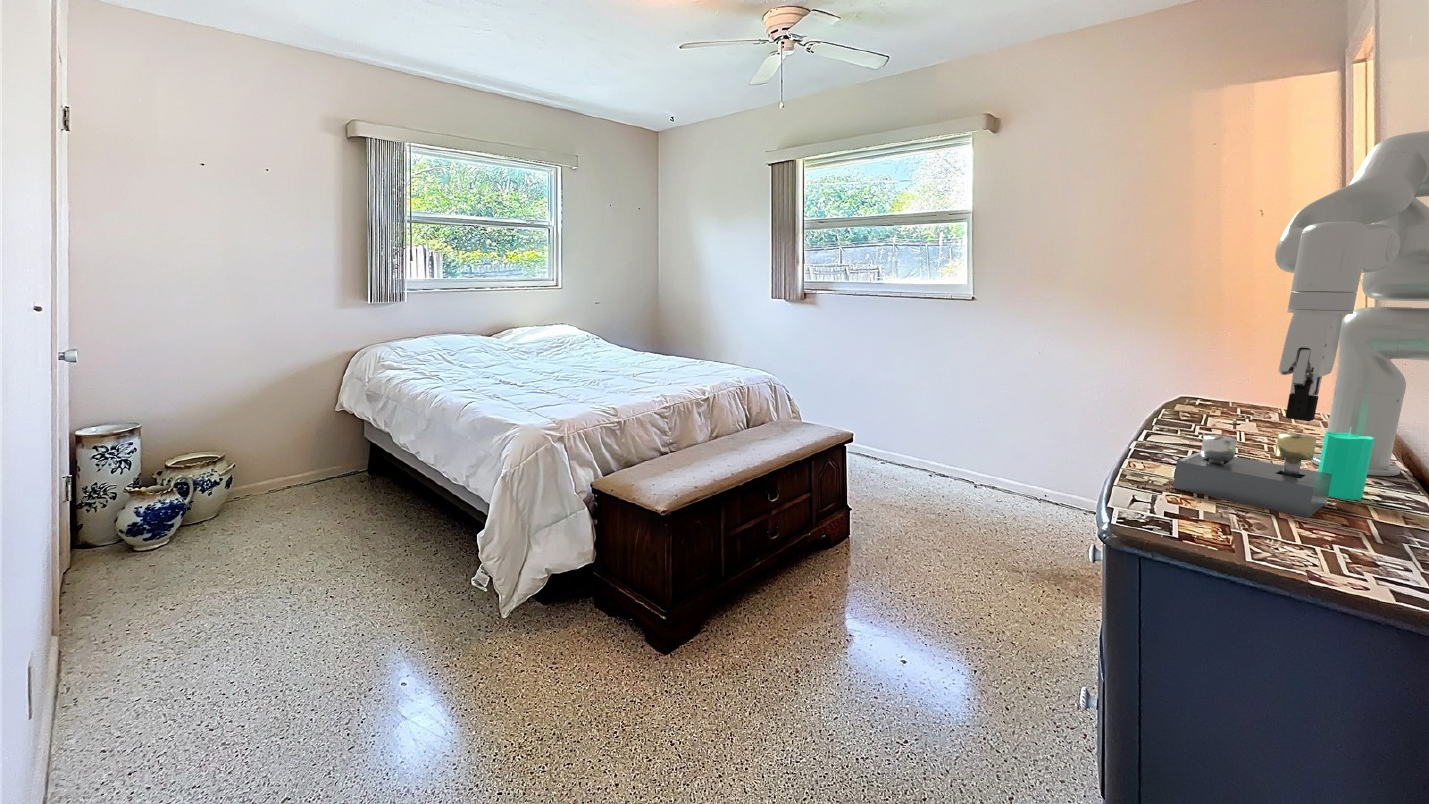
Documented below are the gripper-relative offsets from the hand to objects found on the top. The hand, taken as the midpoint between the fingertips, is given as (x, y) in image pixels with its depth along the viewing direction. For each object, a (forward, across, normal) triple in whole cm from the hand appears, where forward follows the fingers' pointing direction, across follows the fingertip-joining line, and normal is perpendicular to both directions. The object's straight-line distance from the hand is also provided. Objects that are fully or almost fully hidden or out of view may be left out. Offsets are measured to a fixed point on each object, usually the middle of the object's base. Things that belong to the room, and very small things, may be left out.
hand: (1299, 419), depth 102 cm
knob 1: (+13, -1, -10) cm, 17 cm away
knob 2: (+11, -1, 0) cm, 11 cm away
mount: (+14, -1, -5) cm, 15 cm away
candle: (+14, -15, +4) cm, 21 cm away
